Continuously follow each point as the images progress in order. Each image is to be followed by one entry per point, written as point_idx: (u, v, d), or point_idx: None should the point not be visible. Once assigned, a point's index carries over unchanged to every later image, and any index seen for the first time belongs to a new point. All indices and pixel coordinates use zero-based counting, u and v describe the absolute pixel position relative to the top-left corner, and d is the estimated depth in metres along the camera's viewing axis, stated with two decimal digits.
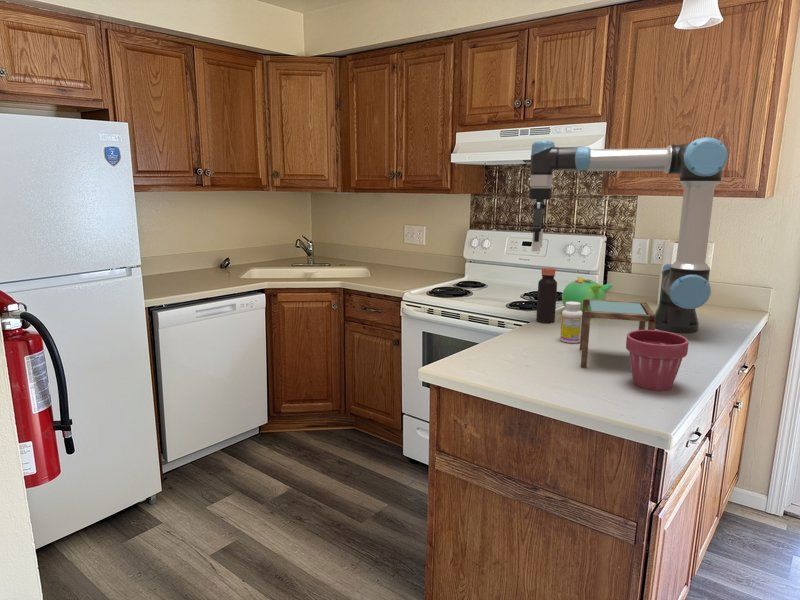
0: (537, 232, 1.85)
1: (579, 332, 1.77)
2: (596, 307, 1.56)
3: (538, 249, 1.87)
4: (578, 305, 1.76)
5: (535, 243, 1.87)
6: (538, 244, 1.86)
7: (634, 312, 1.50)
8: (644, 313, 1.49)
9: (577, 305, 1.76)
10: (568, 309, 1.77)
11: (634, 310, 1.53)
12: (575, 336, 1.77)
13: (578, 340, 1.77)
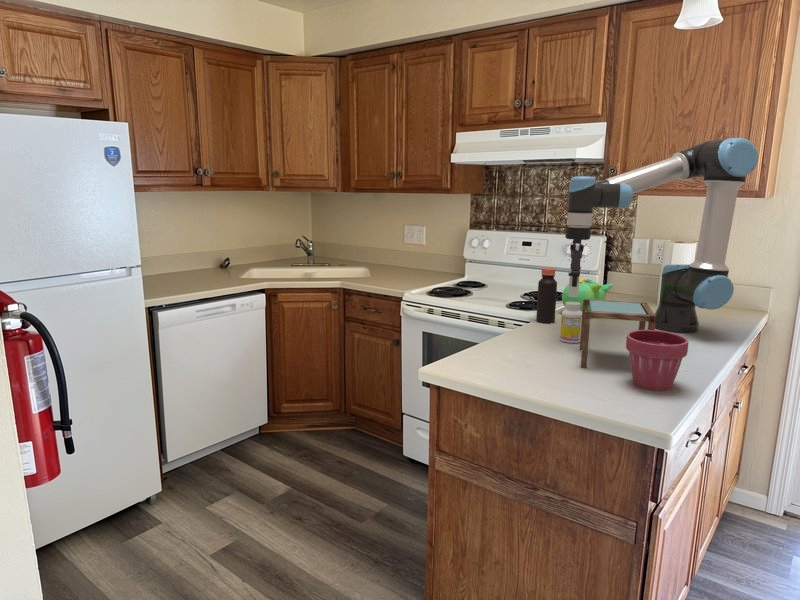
0: (575, 276, 1.68)
1: (579, 332, 1.77)
2: (596, 307, 1.56)
3: (576, 295, 1.70)
4: (578, 305, 1.76)
5: (572, 288, 1.70)
6: (576, 289, 1.70)
7: (634, 312, 1.50)
8: (644, 313, 1.49)
9: (577, 305, 1.76)
10: (568, 309, 1.77)
11: (634, 310, 1.53)
12: (575, 336, 1.77)
13: (578, 340, 1.77)
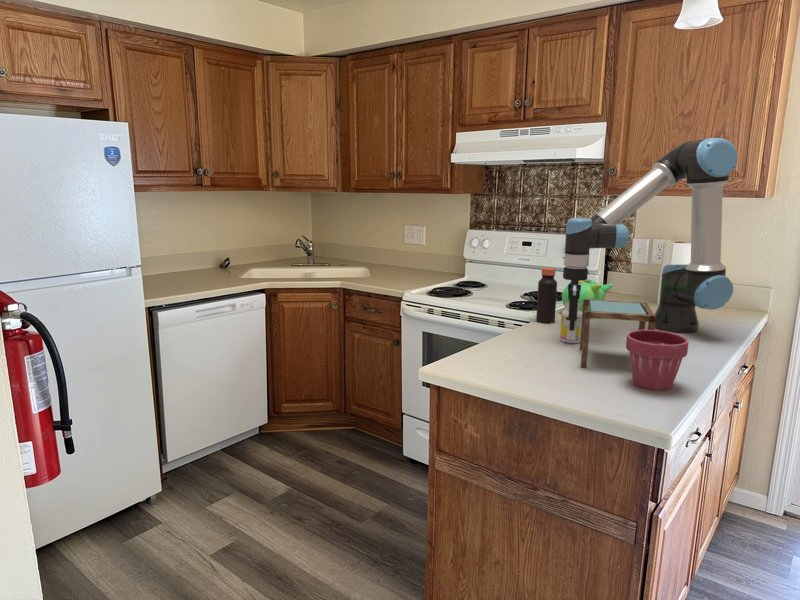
0: (573, 321, 1.74)
1: (579, 332, 1.77)
2: (596, 307, 1.56)
3: (573, 338, 1.76)
4: (578, 305, 1.76)
5: (570, 331, 1.76)
6: (573, 332, 1.76)
7: (634, 312, 1.50)
8: (644, 313, 1.49)
9: None
10: (568, 309, 1.77)
11: (634, 310, 1.53)
12: None
13: (578, 340, 1.77)
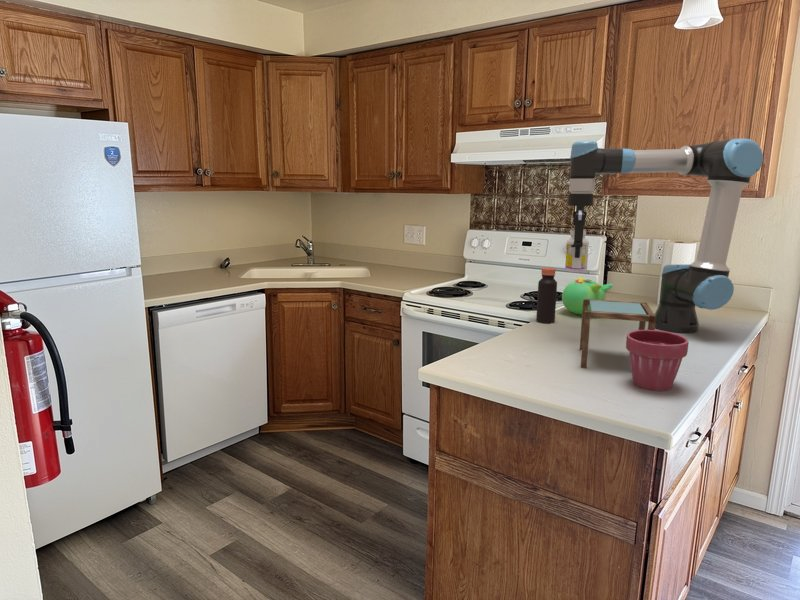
0: (578, 247, 1.69)
1: (584, 260, 1.72)
2: (596, 307, 1.56)
3: (579, 266, 1.71)
4: (583, 232, 1.71)
5: (575, 259, 1.71)
6: (579, 260, 1.71)
7: (634, 312, 1.50)
8: (644, 313, 1.49)
9: None
10: (573, 237, 1.72)
11: (634, 310, 1.53)
12: None
13: (583, 269, 1.73)
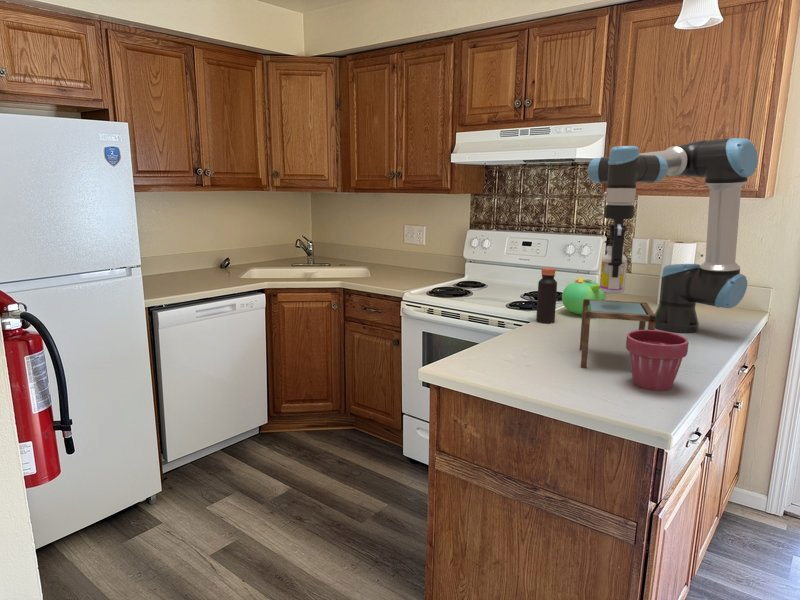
0: (616, 266, 1.50)
1: (623, 280, 1.53)
2: (596, 307, 1.56)
3: (616, 286, 1.52)
4: None
5: (613, 279, 1.52)
6: (617, 280, 1.52)
7: (634, 312, 1.50)
8: (644, 313, 1.49)
9: None
10: (610, 253, 1.53)
11: (634, 310, 1.53)
12: None
13: (621, 289, 1.53)
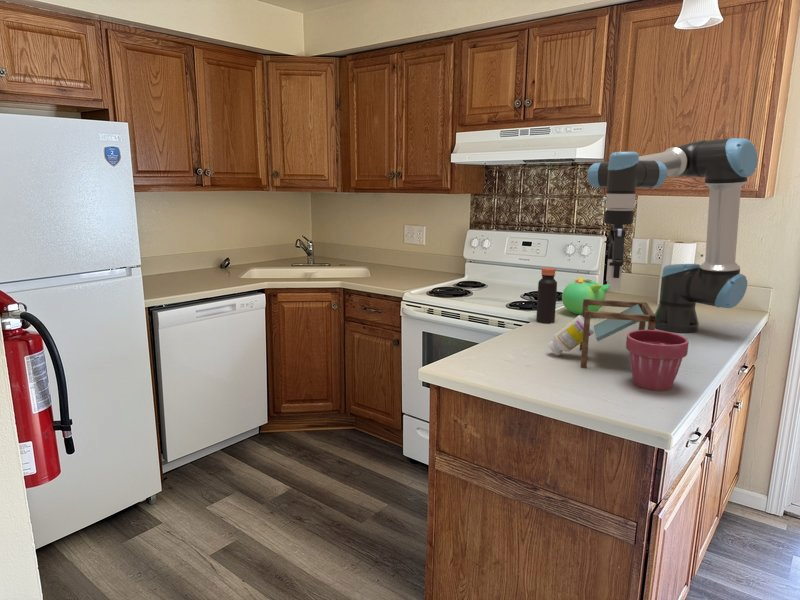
0: (618, 266, 1.47)
1: (570, 325, 1.60)
2: (599, 331, 1.57)
3: (618, 287, 1.49)
4: (549, 345, 1.64)
5: (614, 279, 1.49)
6: (618, 281, 1.49)
7: None
8: (642, 314, 1.49)
9: (550, 346, 1.64)
10: (560, 350, 1.63)
11: None
12: (576, 327, 1.59)
13: (578, 320, 1.59)
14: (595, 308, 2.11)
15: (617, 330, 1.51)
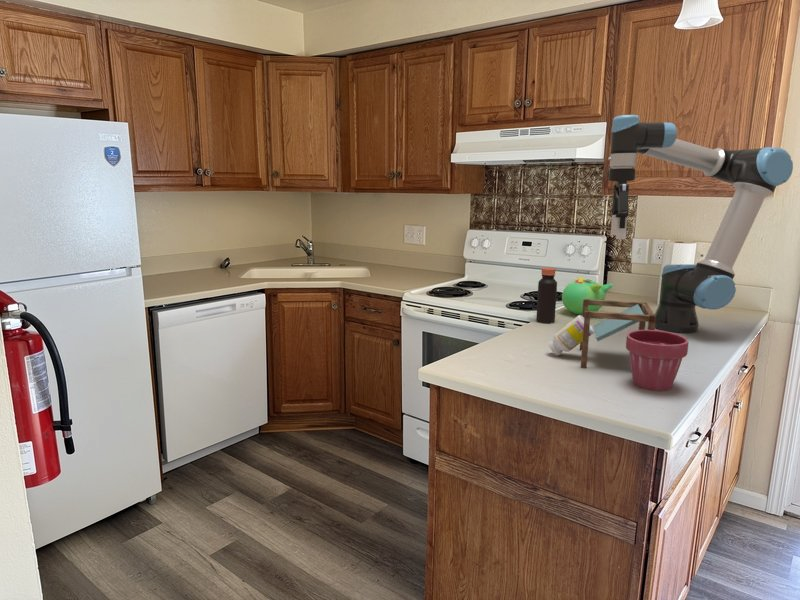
0: (623, 217, 1.64)
1: (570, 325, 1.60)
2: (599, 331, 1.57)
3: (623, 237, 1.67)
4: (549, 345, 1.64)
5: (620, 230, 1.67)
6: (624, 231, 1.66)
7: None
8: (642, 314, 1.49)
9: (550, 346, 1.64)
10: (560, 350, 1.63)
11: None
12: (576, 327, 1.59)
13: (578, 320, 1.59)
14: (595, 308, 2.11)
15: (617, 330, 1.51)
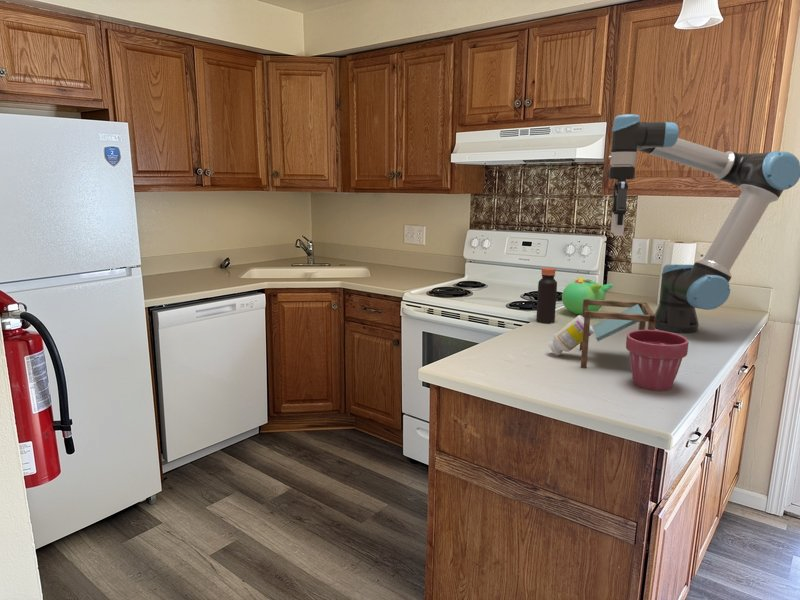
0: (621, 214, 1.68)
1: (570, 325, 1.60)
2: (599, 331, 1.57)
3: (621, 233, 1.70)
4: (549, 345, 1.64)
5: (618, 227, 1.70)
6: (621, 228, 1.70)
7: None
8: (642, 314, 1.49)
9: (550, 346, 1.64)
10: (560, 350, 1.63)
11: None
12: (576, 327, 1.59)
13: (578, 320, 1.59)
14: (595, 308, 2.11)
15: (617, 330, 1.51)
